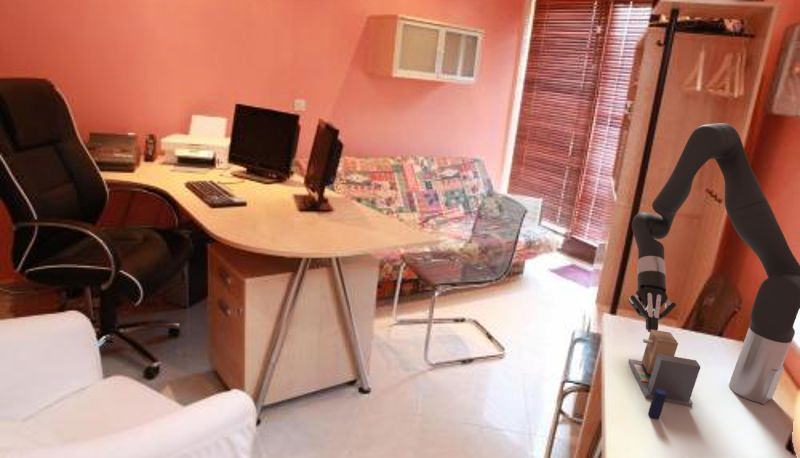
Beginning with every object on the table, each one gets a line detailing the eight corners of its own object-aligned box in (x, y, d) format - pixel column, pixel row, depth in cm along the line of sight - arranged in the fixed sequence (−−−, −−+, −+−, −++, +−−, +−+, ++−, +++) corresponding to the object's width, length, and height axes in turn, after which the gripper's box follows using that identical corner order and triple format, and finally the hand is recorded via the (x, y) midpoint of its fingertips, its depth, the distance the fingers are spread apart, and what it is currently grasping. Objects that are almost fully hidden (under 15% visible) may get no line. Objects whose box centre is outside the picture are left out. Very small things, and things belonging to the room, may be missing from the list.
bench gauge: (628, 362, 149) (638, 326, 145) (669, 369, 148) (680, 333, 144) (645, 398, 133) (657, 359, 129) (691, 406, 132) (705, 367, 128)
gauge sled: (633, 360, 147) (642, 327, 144) (660, 365, 147) (670, 332, 144) (639, 372, 142) (649, 338, 139) (667, 377, 141) (678, 343, 138)
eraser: (656, 414, 127) (664, 389, 125) (659, 420, 125) (667, 395, 123) (647, 412, 127) (654, 387, 125) (650, 418, 125) (657, 393, 123)
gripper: (632, 265, 155) (632, 323, 147) (680, 273, 153) (682, 332, 146) (623, 275, 161) (622, 331, 154) (669, 283, 160) (671, 340, 152)
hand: (652, 331), depth 150 cm, fingers closed
